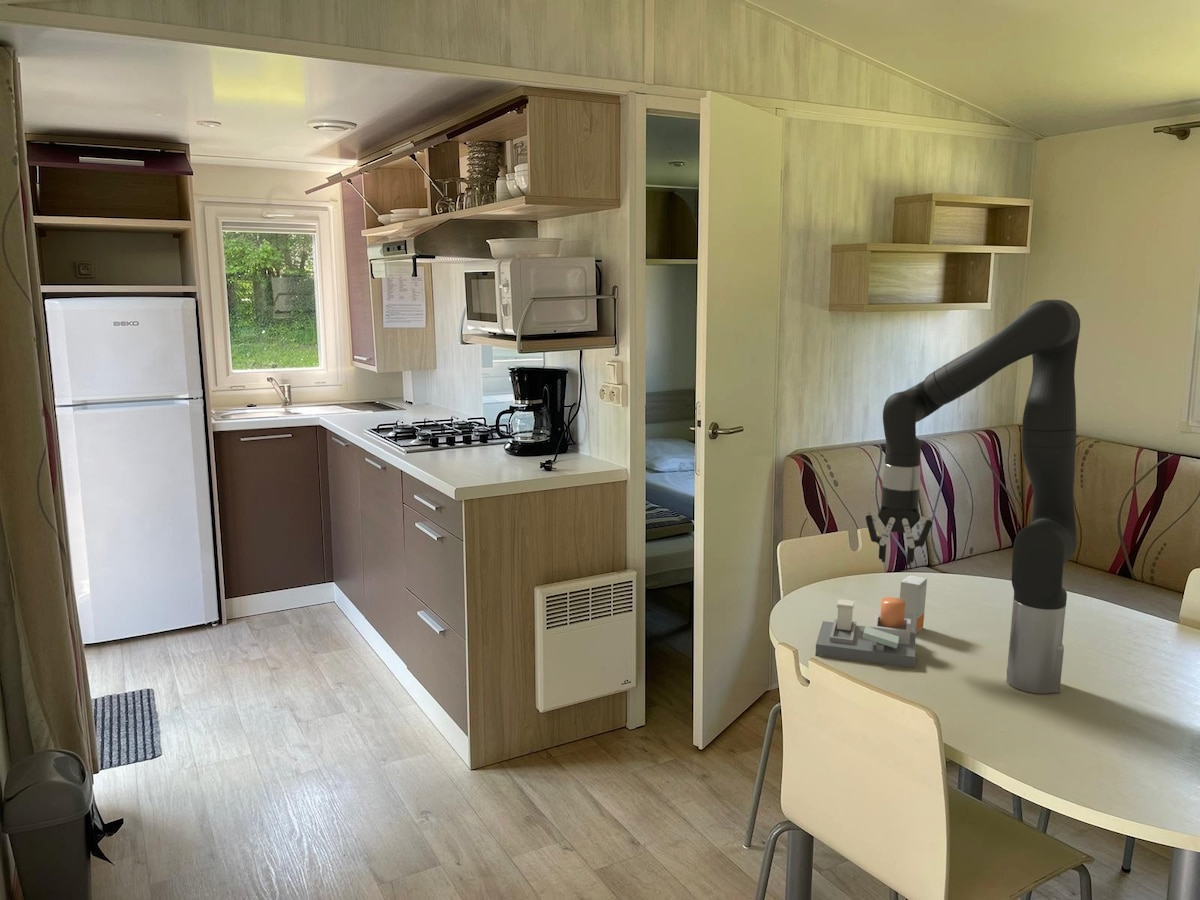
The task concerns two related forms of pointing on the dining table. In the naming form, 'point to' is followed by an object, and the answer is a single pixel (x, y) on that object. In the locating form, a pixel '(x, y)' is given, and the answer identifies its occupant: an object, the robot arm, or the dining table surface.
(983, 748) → the dining table surface
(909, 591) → the skincare box
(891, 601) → the orange piece
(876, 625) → the panel
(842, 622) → the lever
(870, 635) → the block
